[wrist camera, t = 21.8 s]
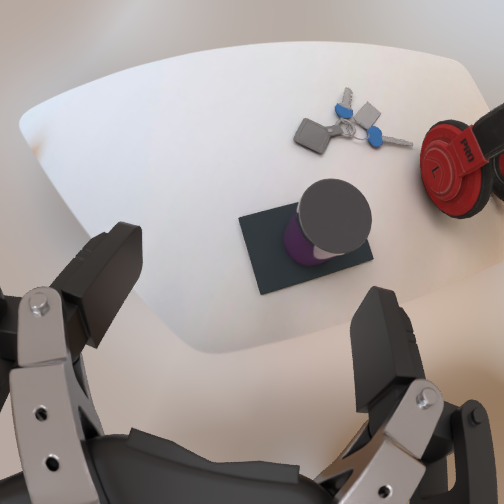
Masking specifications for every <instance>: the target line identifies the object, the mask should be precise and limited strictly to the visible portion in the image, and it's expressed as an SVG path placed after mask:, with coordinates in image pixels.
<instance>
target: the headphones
mask: <svg viewBox="0 0 504 504" xmlns="http://www.w3.org/2000/svg"><path fill="white" fill-rule="evenodd" d="M420 168H421V175H422V179H423V183H424V186H425V188H426V190H427V193H428V194H429V196H430V198H431V199H432V201H433V202H434V204H435V205H436V206H437V207H438V208H439V209H440V210H441V211H442V212H443V213H445V214H446V215H448V216H450V217H452V218H457V219H465V218H470V217H472V216H474V215H475V214H477V213H478V212H480V211H481V210H482V209H483V208H484V206H485V205H486V204H487V202H488V200H489V197H490V194H491V192H492V191H493V192H494V193H495V195H496V196H497V197H498V198H500V199H501V200H502V201H504V103H503V104H501V105H500V106H498V107H496V108H495V109H493V110H492V111H490V112H489V113H487V114H486V115H484V116H483V117H481V118H480V119H479V120H478V121H477V122H476V123H475V124H474V125H470V126H468V125H467V124H465V123H463V122H460V121H456V120H445V121H440V122H438V123H436V124H435V125H433V126H432V127H431V128H430V130H429V131H428V132H427V134H426V136H425V138H424V141H423V144H422V148H421V154H420Z"/></svg>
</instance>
